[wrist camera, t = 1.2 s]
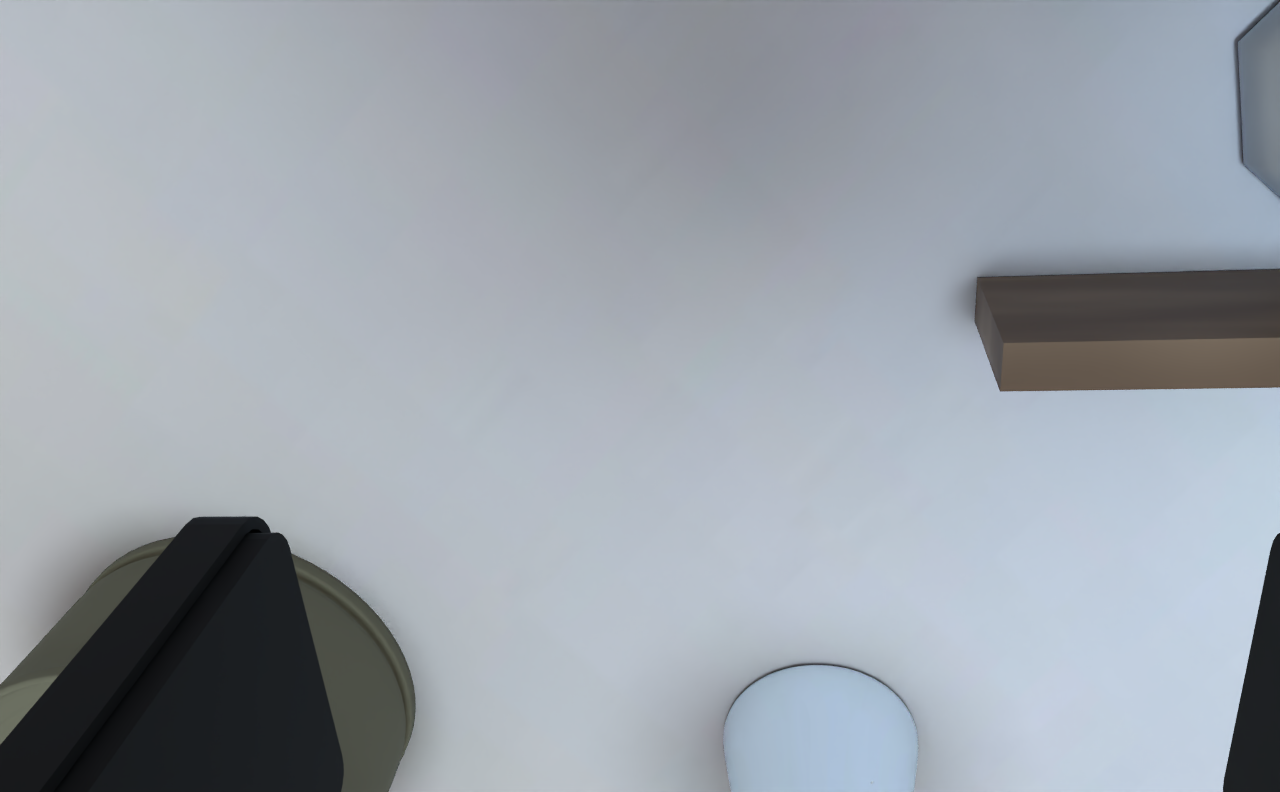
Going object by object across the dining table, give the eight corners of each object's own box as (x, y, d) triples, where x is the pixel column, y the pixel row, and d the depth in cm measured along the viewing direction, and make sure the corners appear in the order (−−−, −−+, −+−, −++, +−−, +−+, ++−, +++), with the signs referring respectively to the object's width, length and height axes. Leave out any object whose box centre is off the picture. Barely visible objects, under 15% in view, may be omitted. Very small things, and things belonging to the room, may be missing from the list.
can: (344, 500, 35) (249, 648, 28) (470, 790, 40) (412, 969, 33) (9, 558, 37) (-144, 706, 31) (166, 824, 42) (62, 996, 36)
